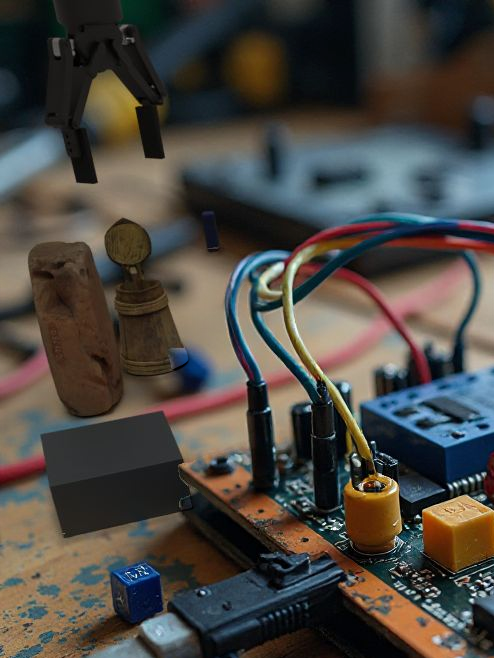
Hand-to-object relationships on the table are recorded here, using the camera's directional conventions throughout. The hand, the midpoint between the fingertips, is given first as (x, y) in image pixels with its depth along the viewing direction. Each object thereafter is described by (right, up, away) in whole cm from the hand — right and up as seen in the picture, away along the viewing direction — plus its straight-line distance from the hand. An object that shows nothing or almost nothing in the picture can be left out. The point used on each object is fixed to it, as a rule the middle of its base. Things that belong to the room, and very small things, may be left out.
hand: (122, 170), depth 138 cm
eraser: (-4, +3, +56) cm, 56 cm away
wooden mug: (0, -22, +12) cm, 26 cm away
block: (-3, -30, 0) cm, 30 cm away
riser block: (+8, -42, -22) cm, 48 cm away
